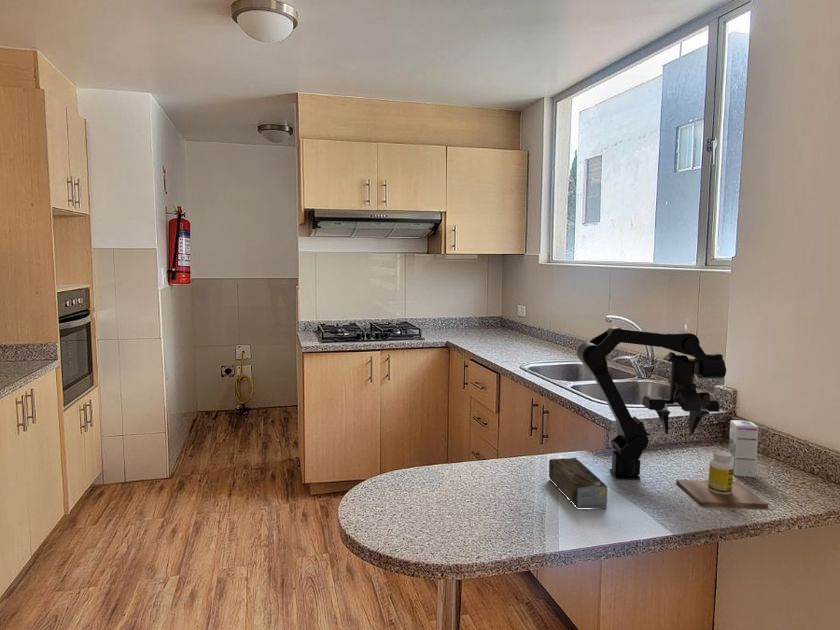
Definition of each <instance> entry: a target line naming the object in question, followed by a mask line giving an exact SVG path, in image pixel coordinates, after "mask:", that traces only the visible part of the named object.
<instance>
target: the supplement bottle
mask: <svg viewBox="0 0 840 630" xmlns="http://www.w3.org/2000/svg"><path fill="white" fill-rule="evenodd" d="M731 456H732V455H731V454H729V452H726V451H722V450H721V451H720V450H717V451H713V459H711V460H710V461H709V468H708V480H707V481H708V489H709V490H710V491H711V492H714V493H717V494H722V495H728V494H731V492H732V482H733V479H734V475H733V470H734V466H733V464H732V463H731V462H730V461H731Z"/></svg>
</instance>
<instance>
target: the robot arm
mask: <svg viewBox="0 0 840 630" xmlns="http://www.w3.org/2000/svg"><path fill="white" fill-rule="evenodd" d="M619 344H631V345H632V344H633V345H640V346H641V345H642V346H649V347H658V348H663V349H666V350H669V353H668V354H667V355H665V356H663V361H664V360H665V361H667V362H669V363H671V364H670V365H671V366H670V378H669V379H668V384H669V393H667V398H668V399H666V398H663V397H660V396H659V395H651V394H650V395H649V394H648V395H647V394H645V395H644V396H643V398H642V399H641V400H642V401H641V403H642V404H641V405H642V406H643V407H645V408H646V409H648V410H651V411H655V412H656V414H657V416H658V418H659V421H660V424H661V426H662V429H663V431H664V434H665V435H668V434H669V416H670V413H671V411H669V410H668V407H676V408H677V407H678V408H679V407H680V409H682V411H684V412H689V417H688V418H689V419H688V433H689V435H690V436H693V435H694V434H695V430H696V429H697V427H698V424H699V422H700V421H701V420H702V418H703V417H704V416H706V415H710V412H712V413H713V412H718V413H719V412H720V409H721V404H720V402H719V401H718V400H717V399H714V398H712V397H711V394H710V393H709V392H707V391H706V392H705V391H704V392H702V391H701V392H697V386H696V385H697V384H696V383H694V382H695V375H696V377H697V378H698V379H703V380H704V379H708V380H709V379H710V380H711V379H712V380H713V379H714V380H722V379H724V378H725V377H726V374H727V367H726V363H725V361H724V359H723V358H724V356H723V354H720V353H706V352H705V351H704V350H703V348H702V346H700V344H701V343H700V339H699V337H698V336H697V335H696V334H694V333H691V332H687V331H684V330H670V331H664V332H661V331H660V332H657V331H647V330H640V329H631V328H630V329H629V328H621V327H618V326H611V327H609V328H608V329H606V330H605V331H604V332H602V333H600V334H599V335H597V336H595V337H593V338H592V339H591V340H589V341H585V342H583V343H581V344H579V346H578V347H577V351H576V355H577V357H578V359H579V361H580V362H581V363H582V364H583V365H584V367H585V368H586V369H587V370H588V371H589V373H590V375H592V376H593V378H594V380H595V382H596V383H597V386H598V388H599V390H600V392H601V394H602V395H603V398H604V399H605V401H606V404H607V405H608V407H609V410H610V412H611V413H612V415H613V416H614V419H615V423H616V429H617V433H618V434H617V435H616V436H615V437H614V438H613V439H611V440H610V444H611V447H612V449H613V451H612V453H611V455H612V457H611V468H609V470H608V471H609V472H610V473H611V475H613V476H614V478H615V479H617V480H641V477H640V475H641V462H642V461H641V460H640V458H641V456H642V453H644V452H643V451H644V450H646V448H647V447H648V444H649V443H650V441H649V437H648V436H650V433H648V432H647V431H646V428H645V425H644V423H643V421H642V420H641V419H639V418H638V417H636V415H635V416H633V417H632V415H631V413H630V411H629V409H628V407H627V405H626V404H625V402H624V399H623V398H622V396H621V394H620V392H619V390H618V388H617V386H616V384H615V382H614V380H613V378H612V376H611V374H610V372H609V365H608V360H607V356H608V355H609V354H611V352H612V351H613V350H614V349H615V348H616V347H617V346H618V345H619ZM672 351H673V352H672ZM675 352H677V353H680V354H676V353H675ZM688 356H691V357H693V358H689V357H688Z"/></svg>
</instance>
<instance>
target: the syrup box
mask: <svg viewBox="0 0 840 630" xmlns="http://www.w3.org/2000/svg"><path fill="white" fill-rule="evenodd" d="M758 439H759V426H757V424H755V423H753V421H749V420H742V419H741V420H740V419H739V420H737V419H735V420H733V419H732V420H731V419H730V424H729V439H728V440H729V441H728V442H729V443H728V453H729V454H731V455H732V456H731V461H730V462H731V463H732V464H733V466H734V470H733V476H736V477H742V476H748V477H747V478H756V477H757V475H756V474H757V473H756V472H757V461H758V460H757V459H758Z"/></svg>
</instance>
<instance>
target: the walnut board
mask: <svg viewBox="0 0 840 630" xmlns="http://www.w3.org/2000/svg"><path fill="white" fill-rule="evenodd" d="M675 484H676V485H678V487H680V489H681V490H683V491H684V492H685V493H686V494H687V495H688V496H689V497H690V498H691V499H693V500H694V501H695V502H696V503H697V504H698V505H699V506H701V507H724V508H725V507H727V508H756V509H757V508H759V509H760V508H761V509H763V508H764V509H768V508H769V503H768V502H766V501H765V500H764V499H762V498H761V497H760V496H758V495H757V494H755V493H754V492H753V491H751V490H750V489H748V488H747V487H745V486H744V485H743V484H741V483H740V482H738V481H735V480H734V481H733V482H732V492H731V494H728V495H722V494H717V493H714V492H711V491H710V490H709V489H708V480H700V479H699V480H695V479H694V480H693V479H692V480H691V479H676V480H675Z"/></svg>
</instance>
